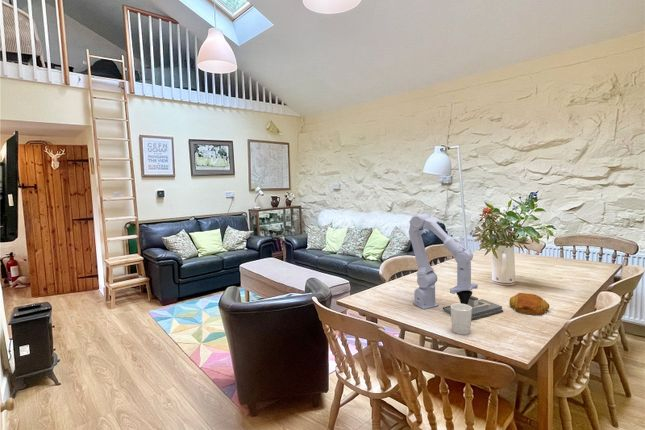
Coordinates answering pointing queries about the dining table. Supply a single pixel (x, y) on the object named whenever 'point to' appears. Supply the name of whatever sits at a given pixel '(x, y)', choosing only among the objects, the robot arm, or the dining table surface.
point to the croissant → (529, 304)
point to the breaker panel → (480, 308)
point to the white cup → (461, 318)
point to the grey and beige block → (473, 301)
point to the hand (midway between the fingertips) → (464, 306)
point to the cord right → (486, 315)
